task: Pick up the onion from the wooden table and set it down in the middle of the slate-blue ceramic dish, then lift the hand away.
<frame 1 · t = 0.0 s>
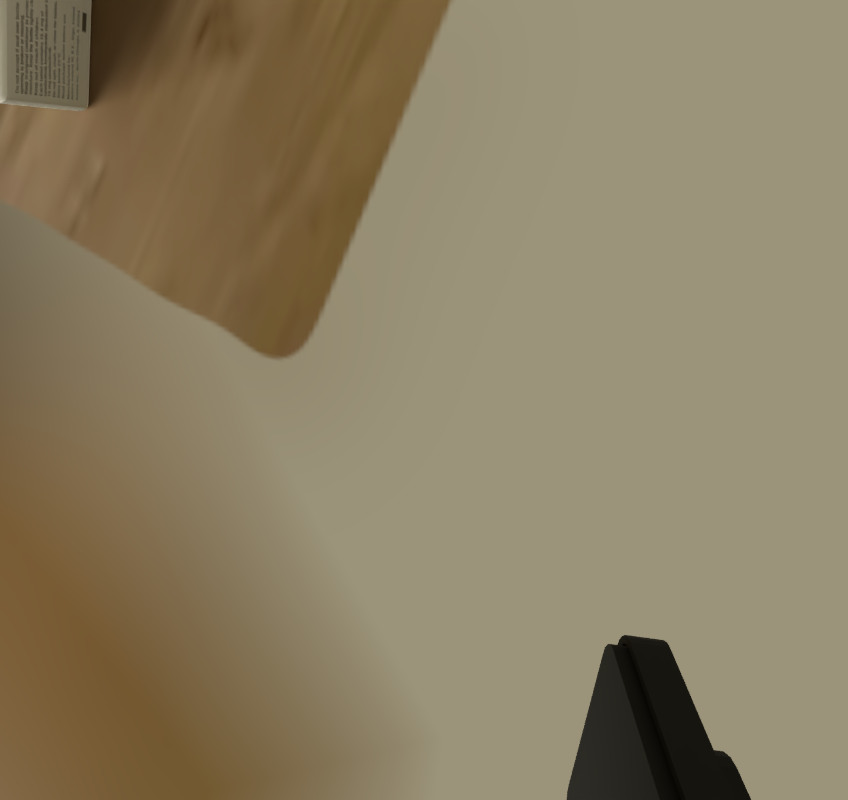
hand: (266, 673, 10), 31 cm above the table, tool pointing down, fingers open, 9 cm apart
container: (20, 16, 36), on the table
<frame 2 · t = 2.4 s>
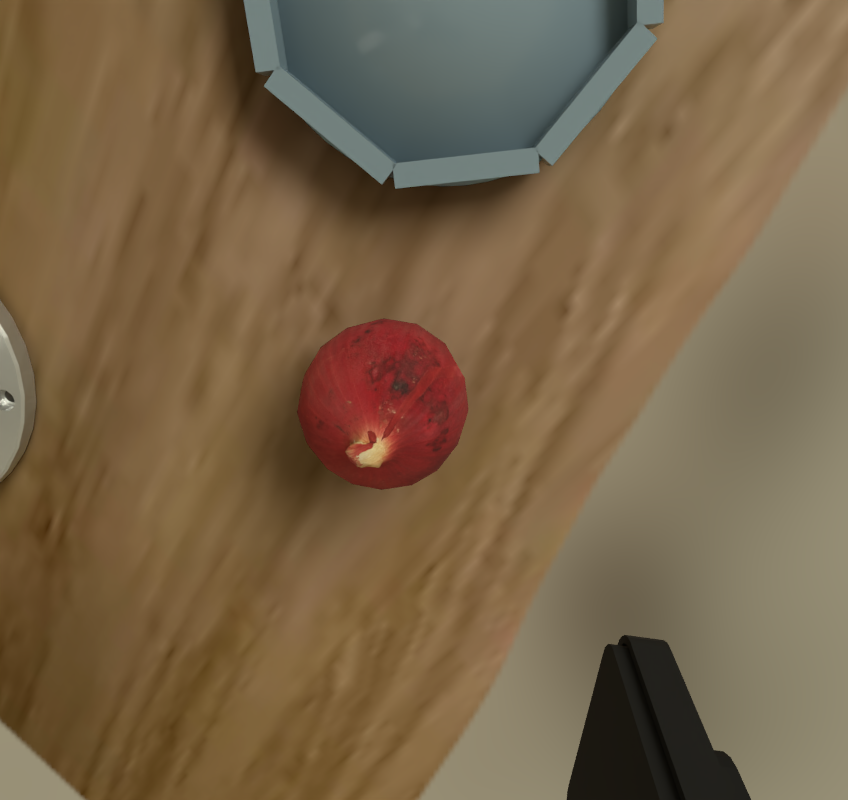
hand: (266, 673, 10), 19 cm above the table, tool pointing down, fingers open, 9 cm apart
onion: (392, 370, 28), on the table
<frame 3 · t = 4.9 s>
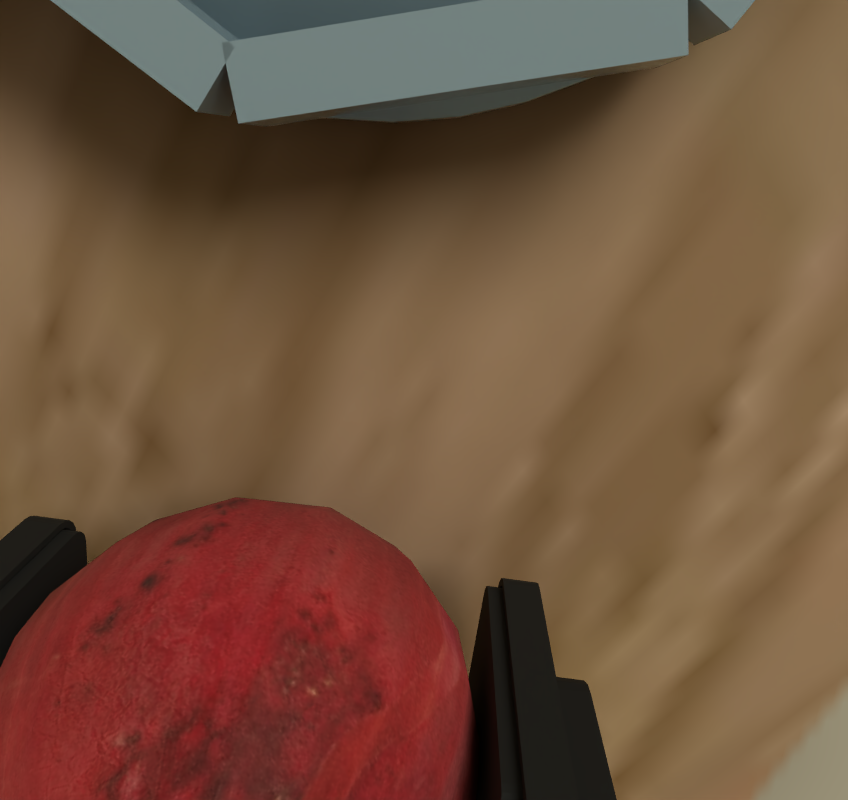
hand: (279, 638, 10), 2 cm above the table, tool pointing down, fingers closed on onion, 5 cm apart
onion: (304, 563, 12), on the table, touching gripper
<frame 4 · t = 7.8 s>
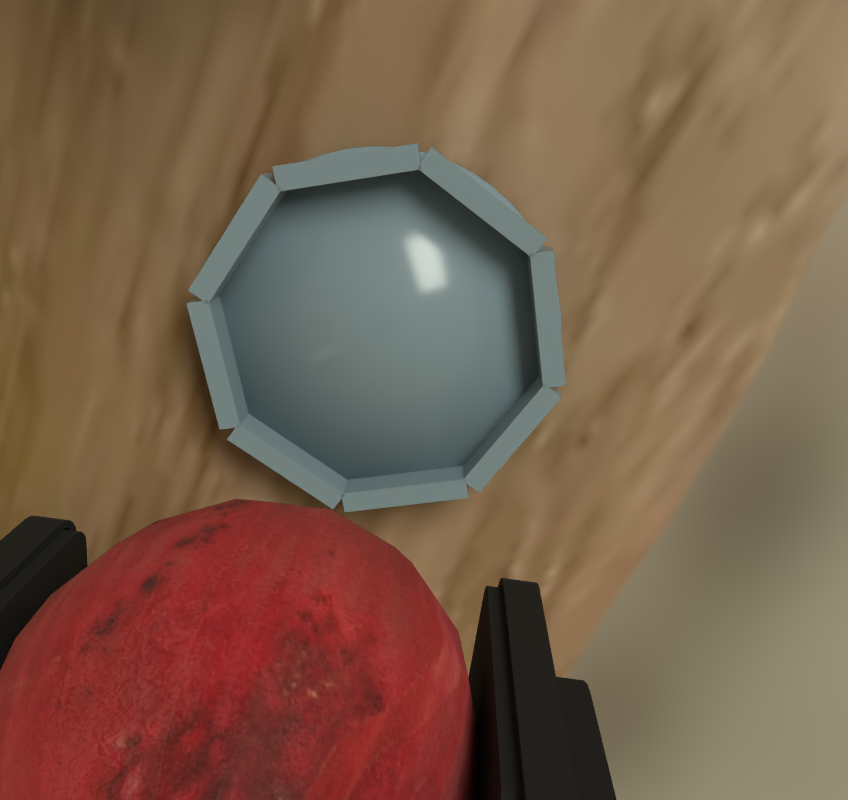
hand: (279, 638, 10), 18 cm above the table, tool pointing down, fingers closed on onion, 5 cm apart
dish: (383, 329, 27), on the table
onion: (305, 564, 12), point 16 cm above the table, touching gripper
when the fingers open (5 cm above the table, at t = 10.7 s): onion drops 2 cm, resting on dish.
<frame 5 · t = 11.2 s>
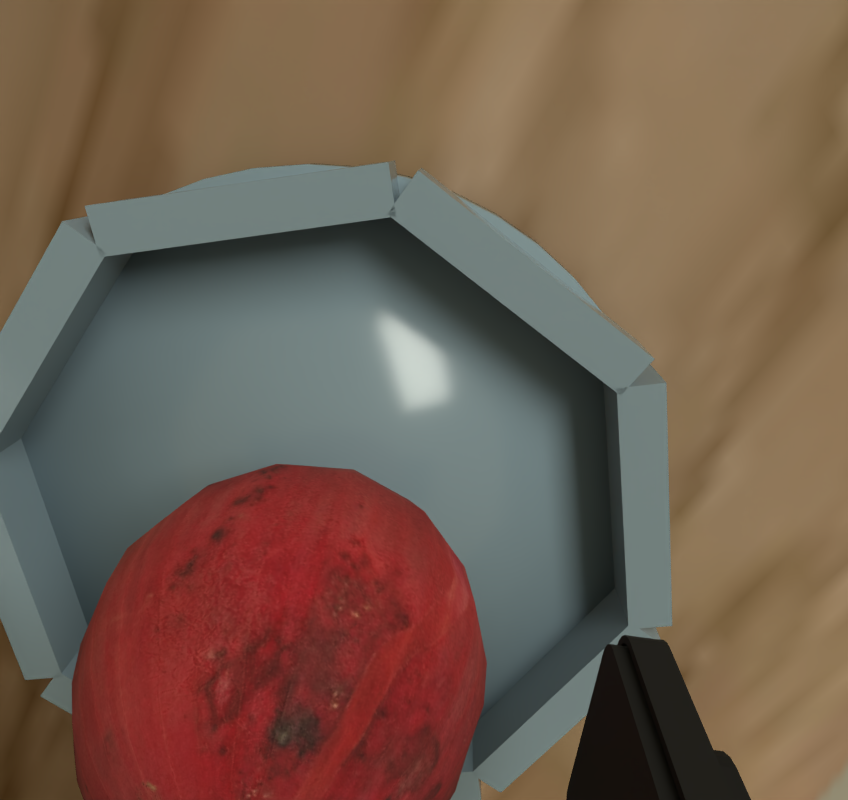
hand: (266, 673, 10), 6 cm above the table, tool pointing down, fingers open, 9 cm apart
dish: (332, 491, 15), on the table
onion: (327, 517, 14), point 1 cm above the table, touching dish
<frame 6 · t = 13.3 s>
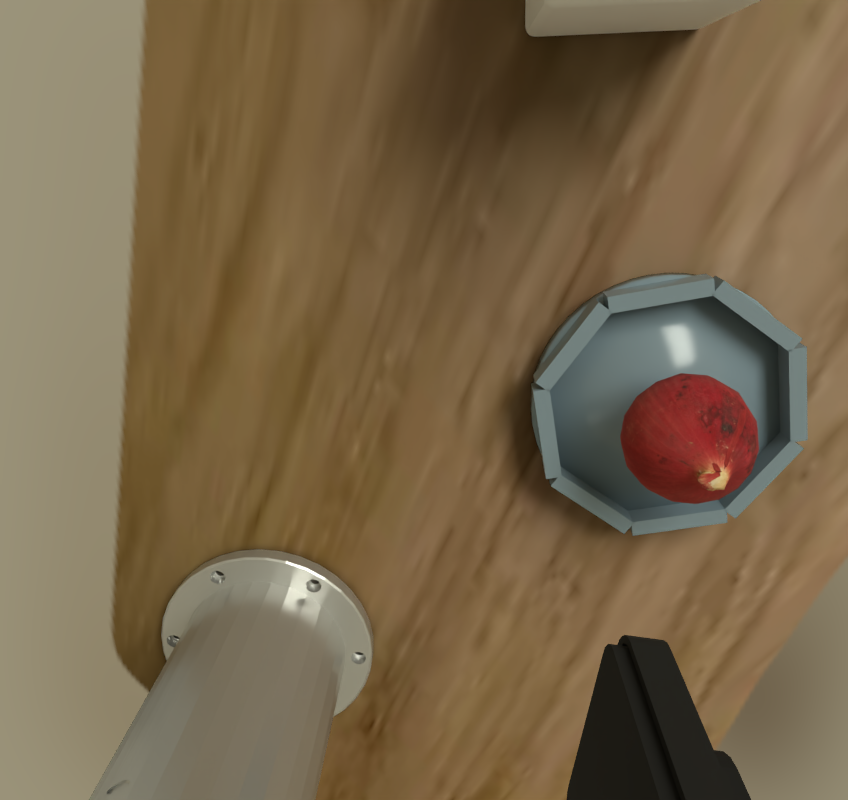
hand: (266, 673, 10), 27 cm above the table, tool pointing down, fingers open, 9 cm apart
dish: (658, 400, 36), on the table
onion: (663, 408, 36), point 1 cm above the table, touching dish
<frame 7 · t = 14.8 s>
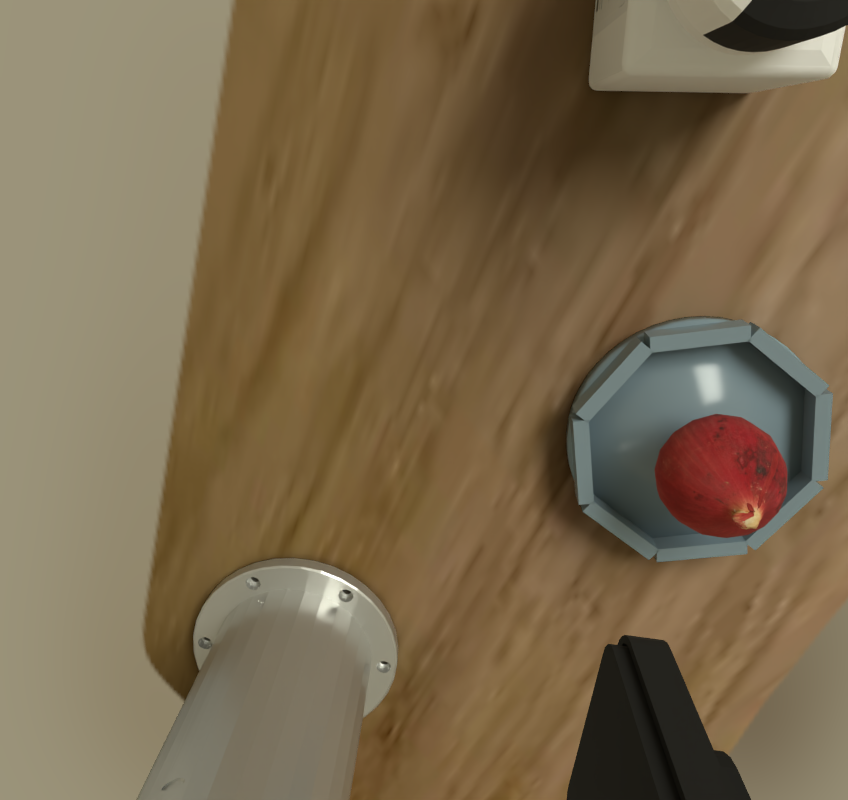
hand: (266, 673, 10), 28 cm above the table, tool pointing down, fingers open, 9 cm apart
dish: (687, 434, 38), on the table
onion: (693, 443, 38), point 1 cm above the table, touching dish
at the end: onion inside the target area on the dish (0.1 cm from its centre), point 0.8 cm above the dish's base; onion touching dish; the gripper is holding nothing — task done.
